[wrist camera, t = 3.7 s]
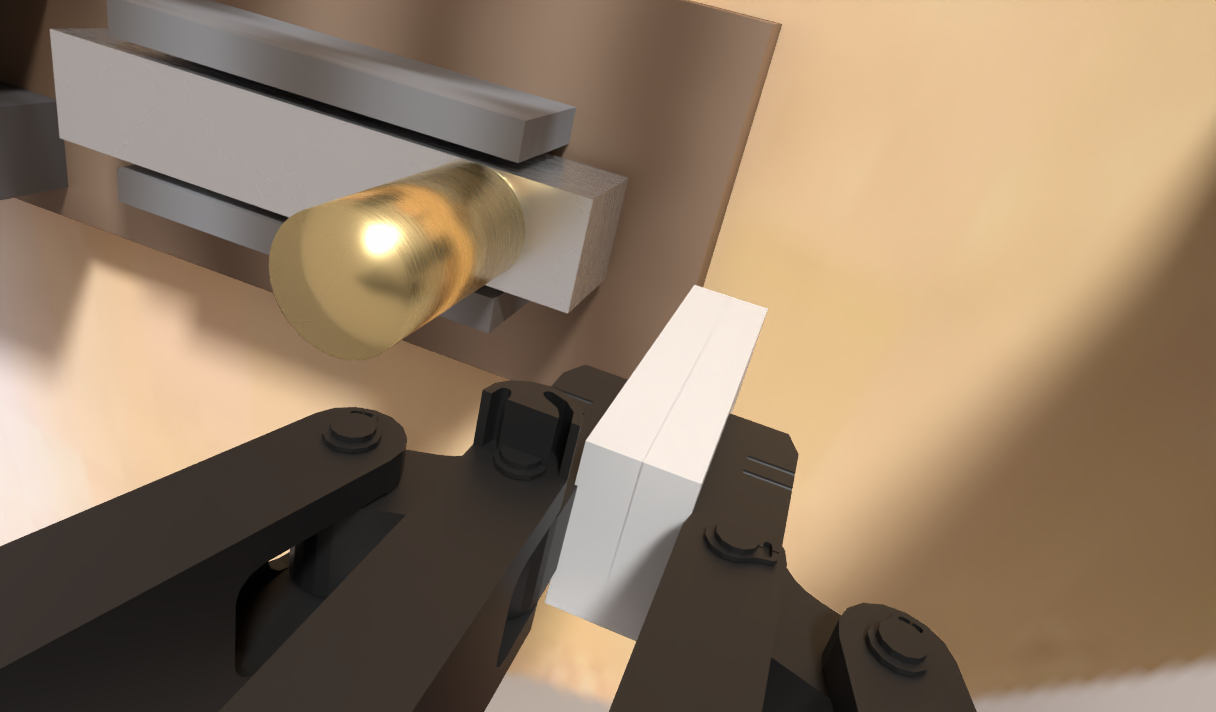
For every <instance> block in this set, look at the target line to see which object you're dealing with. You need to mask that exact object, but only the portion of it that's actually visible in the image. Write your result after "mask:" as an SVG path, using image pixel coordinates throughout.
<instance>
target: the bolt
mask: <svg viewBox="0 0 1216 712" xmlns="http://www.w3.org/2000/svg"><path fill="white" fill-rule="evenodd" d="M50 38H51V49H52V60H53V71H54V81H55V92H56V103H57V114H58V125H59V136H60V138H61V139H64V140H67V141H69V142H72V143H75V144H78V145H81V146H84V147H87V148H90V149H93V150H96V151H98V152H101V153H104V154H107V155H110V156H113V157H116V158H119V159H122V160H124V161H127V162H130V163H133V164H136V165H139V166H142V167H145V168H148V169H151V170H153V171H156V172H159V173H162V174H165V175H168V176H171V177H174V178H177V179H179V180H182V181H185V182H188V183H191V184H194V185H197V186H200V187H203V188H206V189H208V190H211V191H214V192H217V193H220V194H223V195H226V196H229V197H232V198H235V199H237V200H240V201H243V202H246V203H249V204H252V205H255V206H258V207H261V208H263V209H266V210H269V211H272V212H275V213H278V214H281V215H284V216H287V217H289V218H288V219H287V220H286V221H285V222H284V223H283V224H282V225H281V227H280V228H279V229H278V231H277V233H276V235H275V237H274V239H273V242H272V245H271V249H270V254H269V275H270V282H271V286H272V289H273V293H274V295H275V298H276V301H277V303H278V305H279V307H280V309H281V311H282V313H283V314H284V316H285V317H286V319H287V320H288V322H289V323H290V324H291V326H292V327H293V328H294V329H295V330H296V331H297V333H298V334H299V335H300V336H301V337H303V338H304V339H305V340H306V341H307V342H308V343H310V344H311V345H313V346H314V347H315V348H317V349H319V350H321V351H322V352H324V353H327V354H329V355H331V356H334V357H337V358H341V359H347V360H363V359H368V358H372V357H374V356H377V355H379V354H381V353H382V352H384V351H385V350H387V349H388V348H390V347H391V346H393V345H394V344H396V343H397V342H399V341H400V340H402V339H404V338H405V337H407V336H408V335H410V334H411V333H413V332H414V331H416V330H417V329H419V328H420V327H422V326H423V325H425V324H426V323H428V322H429V321H431V320H432V319H434V318H435V317H437V316H438V315H440V314H441V313H443V312H444V311H446V310H447V309H449V308H450V307H452V306H454V305H455V304H457V303H458V302H460V301H461V300H463V299H464V298H466V297H467V296H469V295H470V294H472V293H473V292H475V291H476V290H478V289H479V288H481V287H482V286H484V285H486V286H489V287H492V288H495V289H498V290H501V291H504V292H507V293H510V294H512V295H515V296H518V297H521V298H524V299H527V300H530V301H533V302H536V303H538V304H541V305H544V306H547V307H550V308H553V309H556V310H559V311H562V312H565V313H567V314H568V313H569V312H570V311H571V310H572V309H573V308H575V307H576V306H577V305H578V304H579V303H580V302H581V301H582V300H583V299H584V298H585V297H586V296H587V295H589V294H590V293H591V292H592V291H593V290H594V289H595V288H596V287H597V286H598V285H599V284H600V283H601V282H603V281H604V279H605V275H606V271H607V267H608V263H609V258H610V254H611V250H612V246H613V242H614V237H615V233H616V229H617V225H618V221H619V217H620V212H621V208H622V204H623V200H624V196H625V191H626V187H627V183H628V179H629V178H628V177H624V176H621V175H618V174H615V173H611V172H608V171H605V170H602V169H598V168H595V167H592V166H588V165H585V164H582V163H579V162H575V161H572V160H569V159H566V158H562V157H559V156H556V155H553V154H549V153H543V154H541V155H538V156H535V157H533V158H530V159H528V160H525V161H522V162H520V163H516V162H513V161H510V160H507V159H503V158H500V157H497V156H494V155H490V154H487V153H484V152H481V151H478V150H474V149H471V148H468V147H465V146H462V145H458V144H455V143H452V142H449V141H445V140H442V139H439V138H436V137H433V136H429V135H426V134H423V133H420V132H417V131H413V130H410V129H407V128H404V127H401V126H397V125H394V124H391V123H388V122H384V121H381V120H378V119H375V118H372V117H368V116H365V115H362V114H359V113H356V112H352V111H349V110H346V109H343V108H339V107H336V106H333V105H330V104H327V103H323V102H320V101H317V100H314V99H311V98H307V97H304V96H301V95H298V94H295V93H291V92H288V91H285V90H282V89H278V88H275V87H272V86H269V85H266V84H262V83H259V82H256V81H253V80H250V79H246V78H243V77H240V76H237V75H233V74H230V73H227V72H224V71H221V70H217V69H214V68H211V67H208V66H205V65H201V64H198V63H195V62H192V61H189V60H185V59H182V58H179V57H176V56H172V55H169V54H166V53H163V52H160V51H156V50H153V49H150V48H147V47H144V46H140V45H137V44H134V43H131V42H127V41H124V40H121V39H118V38H115V37H111V36H109V33H108V28H95V29H50Z"/></svg>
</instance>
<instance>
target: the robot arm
mask: <svg viewBox="0 0 1216 712" xmlns="http://www.w3.org/2000/svg"><path fill="white" fill-rule="evenodd" d="M767 310H768V309H767V308H764V307H761V306H758V305H755V304H752V303H749V302H746V301H743V300H739V299H736V298H733V297H730V296H727V295H724V294H721V293H718V292H715V291H712V290H709V289H706V288H703V287H700V286H697V285H694V286H693V288H692V289H691V291H690V292H689V293H688V295H687V296H686V298H685V299H684V301H683V302H682V303H681V305H680V306H679V308H678V309H677V311H676V312H675V313H674V315H673V316H672V318H671V319H670V321H669V322H668V323H667V325H666V326H665V328H664V329H663V331H662V332H661V334H660V335H659V336H658V338H657V339H656V341H655V342H654V344H653V345H652V346H651V348H650V349H649V351H648V352H647V354H646V355H645V356H644V358H643V359H642V361H641V362H640V364H639V365H638V366H637V368H636V369H635V371H634V372H633V374H632V375H631V377H630V378H629V379H625V378H622V377H619V376H616V375H614V374H611V373H608V372H605V371H602V370H600V369H597V368H594V367H591V366H588V365H583V366H580V367H577V368H574V369H572V370H569V371H566V372H563V373H562V375H561V376H560V377H559V378H558V379H557V380H556V381H555V382H554V383H553V385H552V386H548V385H544V384H540V383H536V382H532V381H517V380H511V381H505V382H499V383H495V384H493V385H491V386H489V387H487V388H486V389H484V390H483V392H482V398H481V403H480V409H479V415H478V420H477V426H476V432H475V437H474V443H473V445H472V446H471V447H470V448H469V449H468V450H467V451H466V453H465V454H464V455H463V456H444V455H435V454H429V453H423V452H417V451H411V450H406V444H407V437H406V434H405V432H404V429H403V427H402V426H401V425H400V424H399V423H397V422H396V421H395V420H394V419H393V418H392V417H389V416H387V415H384V414H382V413H380V412H377V411H375V410H369V409H364V408H357V407H348V408H333V409H329V410H325V411H322V412H318V413H315V414H313V415H310V416H308V417H305V418H303V419H301V420H298V421H296V422H294V423H291V424H289V425H287V426H284V427H282V428H279V429H277V430H275V431H272V432H270V433H268V434H265V435H263V436H260V437H258V438H256V439H253V440H251V441H249V442H246V443H244V444H242V445H239V446H237V447H234V448H232V449H230V450H227V451H225V452H223V453H220V454H218V455H215V456H213V457H211V458H208V459H206V460H204V461H201V462H199V463H197V464H194V465H192V466H189V467H187V468H185V469H182V470H180V471H178V472H175V473H173V474H171V475H168V476H166V477H163V478H161V479H159V480H156V481H154V482H152V483H149V484H147V485H144V486H142V487H140V488H137V489H135V490H133V491H130V492H128V493H126V494H123V495H121V496H118V497H116V498H114V499H111V500H109V501H107V502H104V503H102V504H100V505H97V506H95V507H92V508H90V509H88V510H85V511H83V512H81V513H78V514H76V515H73V516H71V517H69V518H66V519H64V520H62V521H59V522H57V523H55V524H52V525H50V526H47V527H45V528H43V529H40V530H38V531H36V532H33V533H31V534H29V535H26V536H24V537H21V538H19V539H17V540H14V541H12V542H10V543H7V544H5V545H2V546H0V712H484V711H485V709H486V707H487V706H488V704H489V702H490V700H491V699H492V697H493V695H494V693H495V692H496V690H497V688H498V686H499V684H500V683H501V681H502V679H503V677H504V676H505V674H506V672H507V670H508V669H509V667H510V665H511V663H512V662H513V660H514V658H515V656H516V654H517V653H518V651H519V649H520V647H521V646H522V644H523V642H524V640H525V639H526V637H527V635H528V633H529V631H530V630H531V626H532V622H533V618H534V615H535V611H536V606H537V602H538V600H539V598H540V597H541V595H542V593H543V592H544V590H545V588H546V586H547V585H548V583H549V581H550V584H549V588H548V592H547V596H546V600H545V603H546V604H549V605H551V606H554V607H556V608H558V609H561V610H563V611H566V612H568V613H570V614H573V615H575V616H577V617H580V618H582V619H585V620H587V621H589V622H592V623H594V624H597V625H599V626H601V627H604V628H606V629H608V630H611V631H613V632H616V633H618V634H620V635H623V636H625V637H628V638H630V639H632V640H635V641H636V644H635V647H634V649H633V652H632V654H631V657H630V659H629V662H628V664H627V667H626V669H625V672H624V675H623V677H622V680H621V682H620V685H619V687H618V690H617V692H616V695H615V698H614V700H613V703H612V705H611V708H610V710H609V712H977V711H976V709H975V707H974V704H973V702H972V699H971V697H970V694H969V692H968V690H967V687H966V685H965V682H964V680H963V677H962V675H961V673H960V670H959V668H958V665H957V663H956V661H955V659H954V658H953V656H952V655H951V653H950V651H949V650H948V648H947V646H946V645H945V643H944V642H943V641H942V640H941V639H940V638H939V637H938V636H936V635H935V634H934V633H933V632H932V631H931V630H930V629H929V628H928V627H927V626H926V625H924V624H923V623H921V622H919V621H918V620H916V619H915V618H913V617H911V616H910V615H908V614H906V613H905V612H902V611H899V610H896V609H894V608H891V607H888V606H885V605H880V604H868V603H862V604H859V605H855V606H852V607H849V608H847V610H846V611H845V612H844V613H843V615H842V616H841V615H839V614H838V613H836V612H835V611H833V610H832V609H830V608H829V607H827V606H826V605H824V604H822V603H821V602H819V601H818V600H817V599H815V598H814V597H813V596H812V595H810V594H809V593H808V592H806V591H805V590H804V589H803V588H802V587H801V586H800V585H799V584H798V583H797V582H796V581H795V580H794V578H793V577H792V575H791V574H790V572H789V571H788V569H787V568H786V567H787V562H786V555H785V550H784V548H783V547H782V543H783V538H784V532H785V527H786V521H787V516H788V510H789V504H790V499H791V493H792V491H791V490H792V488H793V482H794V477H795V476H794V475H795V471H796V465H797V460H798V452H797V450H796V448H795V446H794V444H793V442H792V440H791V438H790V436H789V434H786V433H783V432H781V431H778V430H775V429H772V428H769V427H767V426H764V425H761V424H758V423H755V422H752V421H750V420H747V419H744V418H741V417H738V416H736V415H733V414H732V411H733V408H734V405H735V403H736V400H737V397H738V394H739V391H740V388H741V385H742V382H743V380H744V377H745V374H746V371H747V368H748V365H749V362H750V359H751V356H752V354H753V351H754V348H755V345H756V342H757V339H758V336H759V333H760V330H761V328H762V325H763V322H764V319H765V316H766V313H767ZM288 549H290V552H289V553H287V554H285V555H284V556H282V557H280V558H278V559H275V560H273V561H270V562H268V561H269V560H271V559H273V558H275V557H276V556H278V555H280V554H282V553H283V552H285V551H287V550H288Z"/></svg>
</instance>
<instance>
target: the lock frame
mask: <svg viewBox="0 0 1216 712" xmlns="http://www.w3.org/2000/svg"><path fill="white" fill-rule="evenodd" d="M781 26H782V24H779V23H775V22H772V21H768V20H764V19H760V18H756V17H752V16H748V15H745V14H741V13H737V12H733V11H729V10H725V9H721V8H717V7H714V6H710V5H706V4H702V3H698V2H694V1H690V0H0V200H4V199H9V198H17V199H20V200H22V201H25V202H28V203H30V204H33V205H36V206H39V207H41V208H44V209H47V210H49V211H52V212H55V213H58V214H60V215H63V216H66V217H69V218H71V219H74V220H77V221H79V222H82V223H85V224H88V225H90V226H93V227H96V228H98V229H101V230H104V231H107V232H109V233H112V234H115V235H117V236H120V237H123V238H126V239H128V240H131V241H134V242H137V243H139V244H142V245H145V246H147V247H150V248H153V249H156V250H158V251H161V252H164V253H166V254H169V255H172V256H175V257H177V258H180V259H183V260H186V261H188V262H191V263H194V264H196V265H199V266H202V267H205V268H207V269H210V270H213V271H215V272H218V273H221V274H224V275H226V276H229V277H232V278H234V279H237V280H240V281H243V282H245V283H248V284H251V285H254V286H256V287H259V288H262V289H264V290H267V291H270V292H273V289H272V286H271V282H270V275H269V254H270V249H271V245H272V242H273V239H274V237H275V235H276V233H277V231H278V229H279V228H280V227H281V225H282V224H283V223H284V222H285V221H286V220H287V219H288V218H289V217H287V216H284V215H281V214H278V213H275V212H272V211H269V210H266V209H263V208H261V207H258V206H255V205H252V204H249V203H246V202H243V201H240V200H237V199H235V198H232V197H229V196H226V195H223V194H220V193H217V192H214V191H211V190H208V189H206V188H203V187H200V186H197V185H194V184H191V183H188V182H185V181H182V180H179V179H177V178H174V177H171V176H168V175H165V174H162V173H159V172H156V171H153V170H151V169H148V168H145V167H142V166H139V165H136V164H133V163H130V162H127V161H124V160H122V159H119V158H116V157H113V156H110V155H107V154H104V153H101V152H98V151H96V150H93V149H90V148H87V147H84V146H81V145H78V144H75V143H72V142H69V141H67V140H64V139H61V138H60V136H59V125H58V114H57V103H56V92H55V81H54V71H53V60H52V49H51V38H50V29H95V28H108V33H109V36H111V37H115V38H118V39H121V40H124V41H127V42H131V43H134V44H137V45H140V46H144V47H147V48H150V49H153V50H156V51H160V52H163V53H166V54H169V55H172V56H176V57H179V58H182V59H185V60H189V61H192V62H195V63H198V64H201V65H205V66H208V67H211V68H214V69H217V70H221V71H224V72H227V73H230V74H233V75H237V76H240V77H243V78H246V79H250V80H253V81H256V82H259V83H262V84H266V85H269V86H272V87H275V88H278V89H282V90H285V91H288V92H291V93H295V94H298V95H301V96H304V97H307V98H311V99H314V100H317V101H320V102H323V103H327V104H330V105H333V106H336V107H339V108H343V109H346V110H349V111H352V112H356V113H359V114H362V115H365V116H368V117H372V118H375V119H378V120H381V121H384V122H388V123H391V124H394V125H397V126H401V127H404V128H407V129H410V130H413V131H417V132H420V133H423V134H426V135H429V136H433V137H436V138H439V139H442V140H445V141H449V142H452V143H455V144H458V145H462V146H465V147H468V148H471V149H474V150H478V151H481V152H484V153H487V154H490V155H494V156H497V157H500V158H503V159H507V160H510V161H513V162H516V163H520V162H522V161H525V160H528V159H530V158H533V157H535V156H538V155H541V154H543V153H549V154H553V155H556V156H559V157H562V158H566V159H569V160H572V161H575V162H579V163H582V164H585V165H588V166H592V167H595V168H598V169H602V170H605V171H608V172H611V173H615V174H618V175H621V176H624V177H628V178H629V179H628V183H627V187H626V191H625V196H624V200H623V204H622V208H621V212H620V217H619V221H618V225H617V229H616V233H615V237H614V242H613V246H612V250H611V254H610V258H609V263H608V267H607V271H606V275H605V279H604V281H603V282H601V283H600V284H599V285H598V286H597V287H596V288H595V289H594V290H593V291H592V292H591V293H590V294H589V295H587V296H586V297H585V298H584V299H583V300H582V301H581V302H580V303H579V304H578V305H577V306H576V307H575V308H573V309H572V310H571V311H570V312H569V313H568V314H567V313H565V312H562V311H559V310H556V309H553V308H550V307H547V306H544V305H541V304H538V303H536V302H533V301H530V300H527V299H524V298H521V297H518V296H515V295H512V294H510V293H507V292H504V291H501V290H498V289H495V288H492V287H489V286H486V285H484V286H482V287H481V288H479V289H478V290H476V291H475V292H473V293H472V294H470V295H469V296H467V297H466V298H464V299H463V300H461V301H460V302H458V303H457V304H455V305H454V306H452V307H450V308H449V309H447V310H446V311H444V312H443V313H441V314H440V315H438V316H437V317H435V318H434V319H432V320H431V321H429V322H428V323H426V324H425V325H423V326H422V327H420V328H419V329H417V330H416V331H414V332H413V333H411V334H410V335H408V336H407V337H405V338H404V339H402V340H403V341H406V342H409V343H411V344H414V345H417V346H420V347H422V348H425V349H428V350H430V351H433V352H436V353H439V354H441V355H444V356H447V357H449V358H452V359H455V360H458V361H460V362H463V363H466V364H469V365H471V366H474V367H477V368H479V369H482V370H485V371H488V372H490V373H493V374H496V375H498V376H501V377H504V378H507V379H509V380H517V381H532V382H536V383H540V384H544V385H548V386H552V385H553V383H554V382H555V381H556V380H557V379H558V378H559V377H560V376H561V375H562V373H563V372H566V371H569V370H572V369H574V368H577V367H580V366H583V365H588V366H591V367H594V368H597V369H600V370H602V371H605V372H608V373H611V374H614V375H616V376H619V377H622V378H625V379H629V378H630V377H631V375H632V374H633V372H634V371H635V369H636V368H637V366H638V365H639V364H640V362H641V361H642V359H643V358H644V356H645V355H646V354H647V352H648V351H649V349H650V348H651V346H652V345H653V344H654V342H655V341H656V339H657V338H658V336H659V335H660V334H661V332H662V331H663V329H664V328H665V326H666V325H667V323H668V322H669V321H670V319H671V318H672V316H673V315H674V313H675V312H676V311H677V309H678V308H679V306H680V305H681V303H682V302H683V301H684V299H685V298H686V296H687V295H688V293H689V292H690V291H691V289H692V288H693V286H694V285H697V286H700V287H703V285H704V282H705V278H706V275H707V272H708V268H709V265H710V262H711V258H712V255H713V252H714V249H715V245H716V242H717V239H718V235H719V232H720V229H721V225H722V222H723V219H724V215H725V212H726V209H727V205H728V202H729V199H730V195H731V192H732V189H733V185H734V182H735V179H736V176H737V172H738V169H739V166H740V162H741V159H742V156H743V152H744V149H745V146H746V142H747V139H748V136H749V132H750V129H751V126H752V122H753V119H754V116H755V112H756V109H757V106H758V102H759V99H760V96H761V93H762V89H763V86H764V83H765V79H766V76H767V73H768V69H769V66H770V63H771V59H772V56H773V53H774V49H775V46H776V43H777V39H778V36H779V33H780V29H781Z"/></svg>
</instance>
